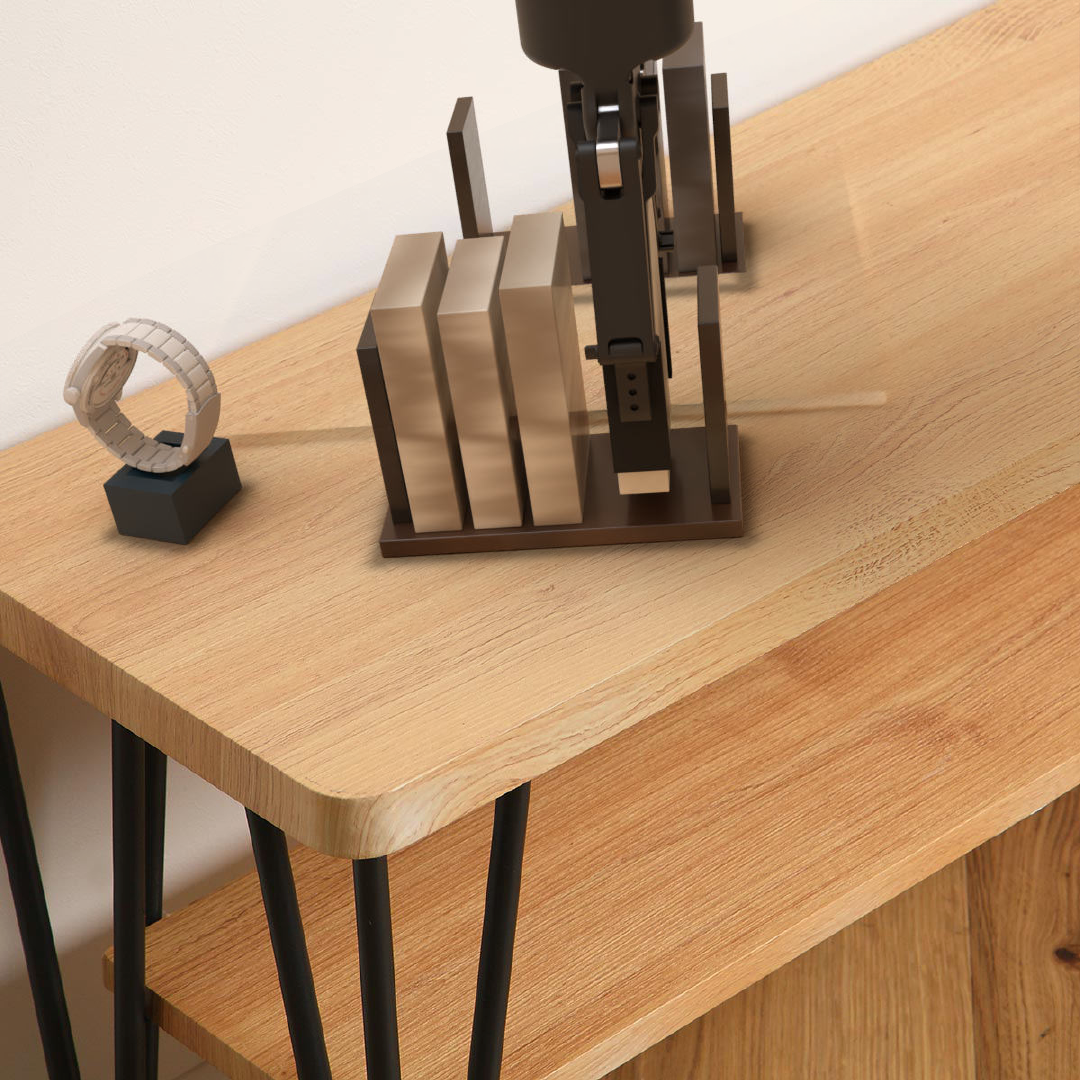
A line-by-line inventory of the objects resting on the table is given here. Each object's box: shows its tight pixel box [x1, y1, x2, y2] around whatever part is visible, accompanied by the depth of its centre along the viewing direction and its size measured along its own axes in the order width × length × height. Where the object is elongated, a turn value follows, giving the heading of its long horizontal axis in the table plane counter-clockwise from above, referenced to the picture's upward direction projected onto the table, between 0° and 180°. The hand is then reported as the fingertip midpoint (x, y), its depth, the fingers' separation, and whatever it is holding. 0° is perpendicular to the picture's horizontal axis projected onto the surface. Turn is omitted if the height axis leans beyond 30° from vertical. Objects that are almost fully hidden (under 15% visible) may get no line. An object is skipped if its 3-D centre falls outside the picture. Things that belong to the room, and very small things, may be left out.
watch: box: [62, 317, 243, 545], centre depth 84 cm, size 6×8×11 cm
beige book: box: [618, 198, 672, 494], centre depth 78 cm, size 2×8×13 cm, turn 176°
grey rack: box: [445, 21, 747, 287], centre depth 101 cm, size 18×9×14 cm, turn 86°
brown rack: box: [355, 210, 744, 558], centre depth 80 cm, size 18×9×14 cm, turn 86°
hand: (644, 419), depth 81 cm, fingers closed on beige book, 8 cm apart
